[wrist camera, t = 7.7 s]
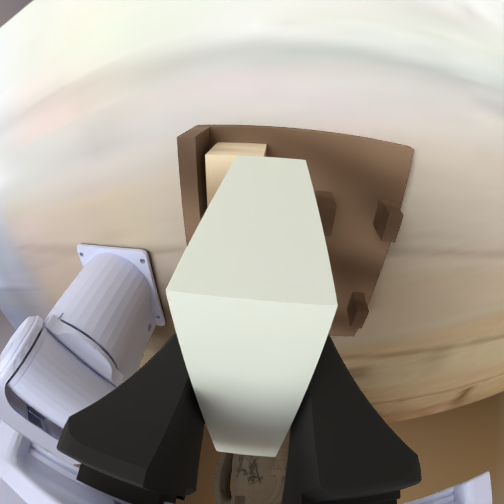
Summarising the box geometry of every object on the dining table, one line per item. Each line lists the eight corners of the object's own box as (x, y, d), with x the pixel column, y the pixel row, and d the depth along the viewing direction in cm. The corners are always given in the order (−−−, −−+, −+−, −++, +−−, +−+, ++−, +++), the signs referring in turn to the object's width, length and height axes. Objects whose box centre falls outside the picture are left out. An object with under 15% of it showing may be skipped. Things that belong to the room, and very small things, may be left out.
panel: (282, 332, 16) (275, 456, 10) (238, 328, 16) (216, 450, 10) (305, 159, 10) (337, 304, 4) (237, 155, 10) (165, 290, 4)
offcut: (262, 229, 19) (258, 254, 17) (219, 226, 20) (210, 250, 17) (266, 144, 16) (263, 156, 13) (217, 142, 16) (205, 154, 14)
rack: (352, 330, 26) (358, 361, 23) (211, 319, 27) (203, 350, 24) (409, 146, 15) (434, 163, 12) (197, 125, 16) (176, 137, 13)
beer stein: (282, 348, 28) (267, 537, 12) (343, 378, 31) (348, 528, 15) (208, 389, 36) (181, 517, 20) (266, 412, 39) (253, 526, 23)
